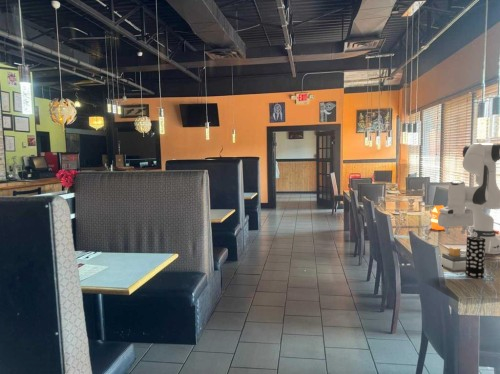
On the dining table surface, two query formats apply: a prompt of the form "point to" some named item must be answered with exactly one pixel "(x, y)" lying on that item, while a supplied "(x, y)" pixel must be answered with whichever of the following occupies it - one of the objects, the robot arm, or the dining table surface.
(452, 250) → the plug
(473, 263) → the white-spotted black cylinder
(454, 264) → the bay
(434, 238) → the dining table surface
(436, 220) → the orange juice
